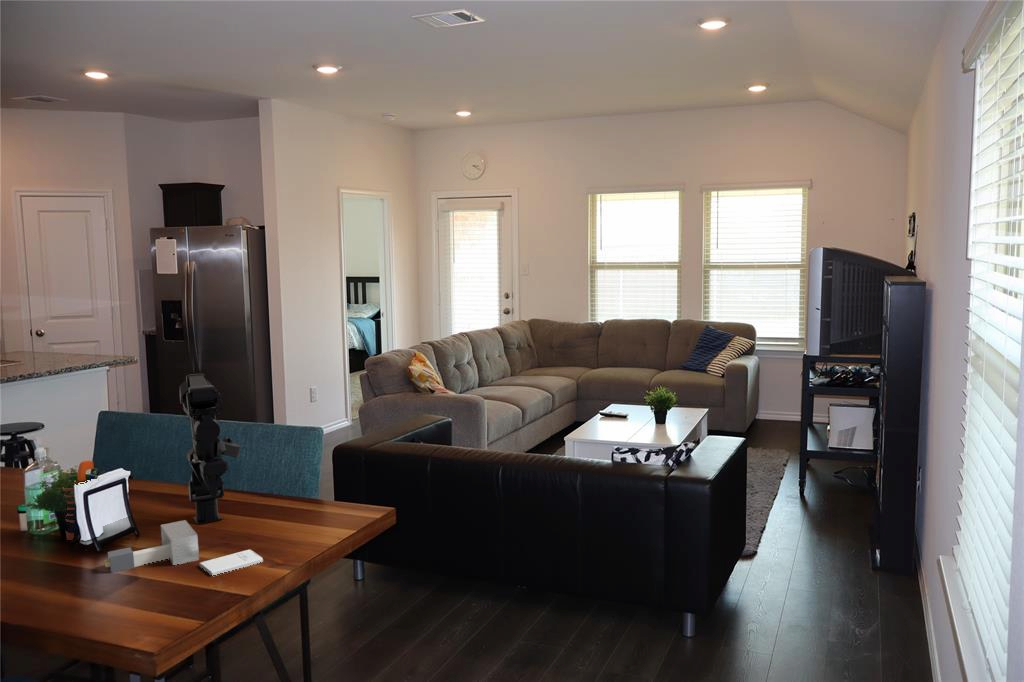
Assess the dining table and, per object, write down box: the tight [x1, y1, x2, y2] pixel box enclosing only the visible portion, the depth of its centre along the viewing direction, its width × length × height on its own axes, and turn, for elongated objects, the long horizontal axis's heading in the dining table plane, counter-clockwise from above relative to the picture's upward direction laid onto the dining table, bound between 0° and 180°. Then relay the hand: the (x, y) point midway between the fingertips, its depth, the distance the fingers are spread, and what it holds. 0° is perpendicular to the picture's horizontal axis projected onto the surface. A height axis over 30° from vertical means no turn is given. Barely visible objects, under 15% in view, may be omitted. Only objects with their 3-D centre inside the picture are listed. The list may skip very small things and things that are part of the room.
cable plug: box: [103, 544, 170, 574], centre depth 198 cm, size 20×4×4 cm, turn 124°
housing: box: [160, 519, 200, 566], centre depth 202 cm, size 13×6×6 cm, turn 34°
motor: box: [61, 460, 99, 541], centre depth 217 cm, size 10×9×20 cm
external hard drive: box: [198, 549, 264, 577], centre depth 195 cm, size 2×8×12 cm
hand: (209, 491), depth 214 cm, fingers open, 9 cm apart
